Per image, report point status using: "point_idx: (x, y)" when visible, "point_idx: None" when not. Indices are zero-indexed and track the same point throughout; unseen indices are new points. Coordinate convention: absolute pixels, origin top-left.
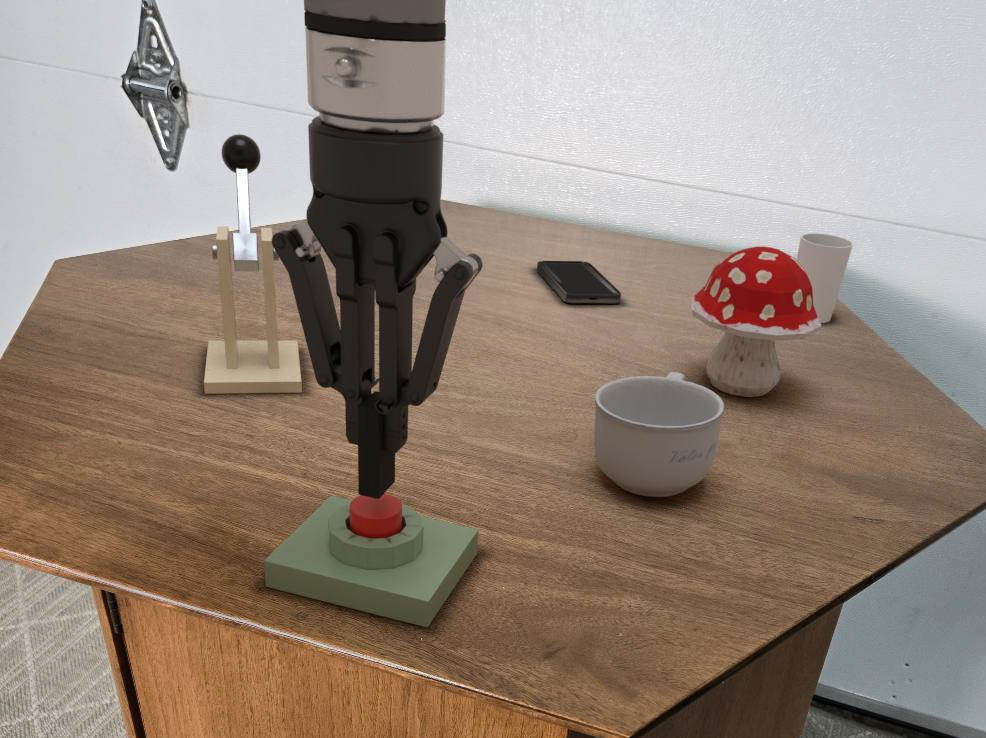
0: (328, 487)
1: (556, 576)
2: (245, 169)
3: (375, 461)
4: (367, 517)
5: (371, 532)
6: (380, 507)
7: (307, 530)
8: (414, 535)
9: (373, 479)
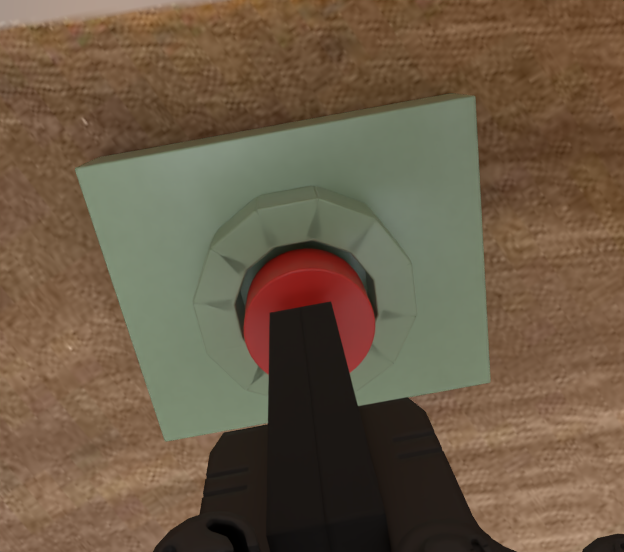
0: (534, 434)
1: (16, 426)
2: None
3: (280, 372)
4: (293, 273)
5: (281, 260)
6: None
7: (458, 248)
8: (200, 314)
9: (288, 338)
